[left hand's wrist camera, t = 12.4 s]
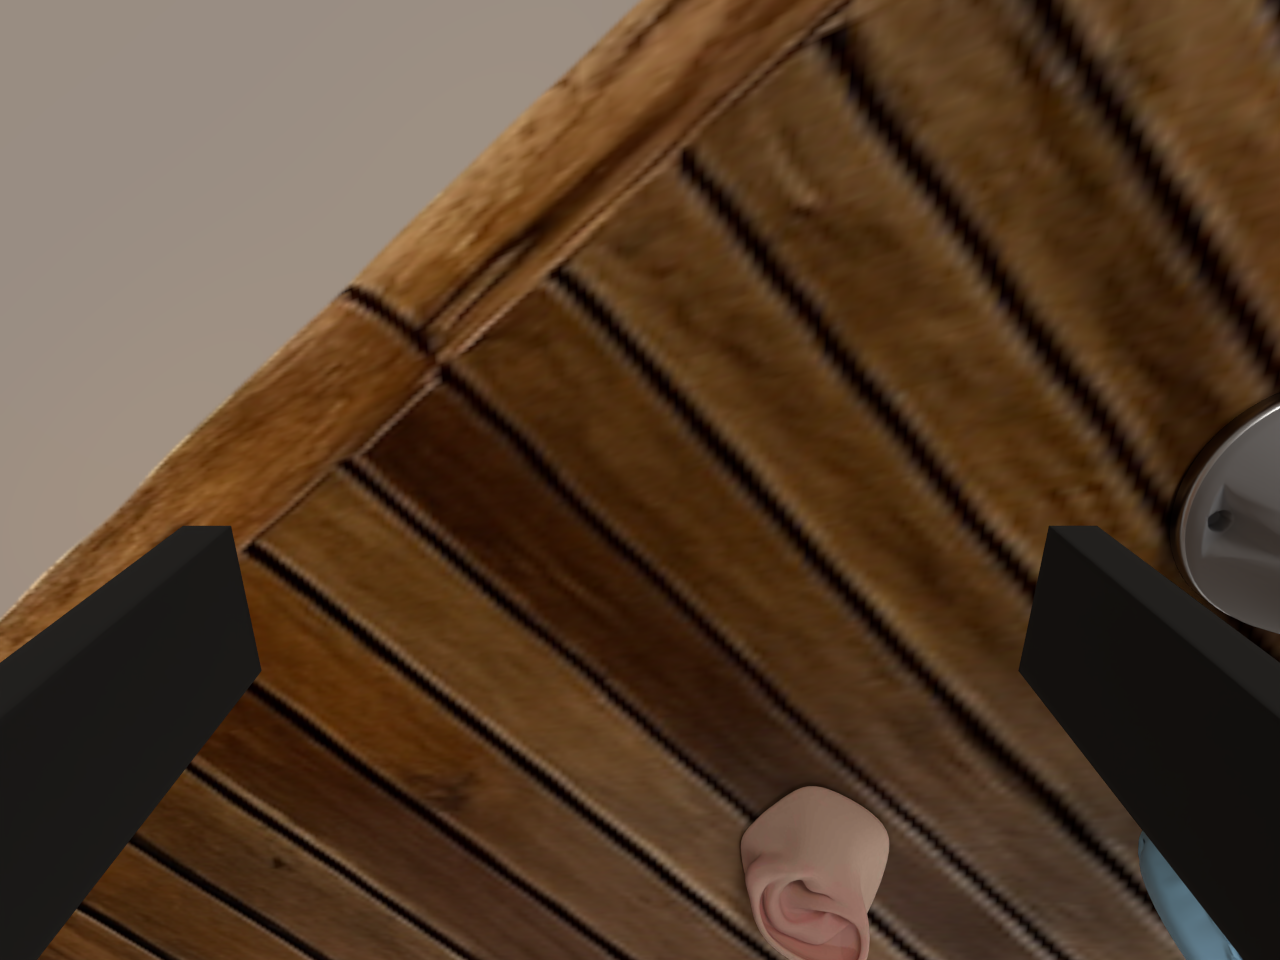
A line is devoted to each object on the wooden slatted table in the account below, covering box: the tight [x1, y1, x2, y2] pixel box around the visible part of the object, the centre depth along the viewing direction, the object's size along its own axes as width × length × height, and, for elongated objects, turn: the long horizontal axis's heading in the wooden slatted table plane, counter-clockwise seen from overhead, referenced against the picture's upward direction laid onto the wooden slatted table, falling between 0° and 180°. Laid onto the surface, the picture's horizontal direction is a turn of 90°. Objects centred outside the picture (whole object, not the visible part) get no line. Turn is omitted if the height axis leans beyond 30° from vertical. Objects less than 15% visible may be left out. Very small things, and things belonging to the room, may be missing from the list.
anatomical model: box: [741, 786, 889, 960], centre depth 54 cm, size 13×4×12 cm
